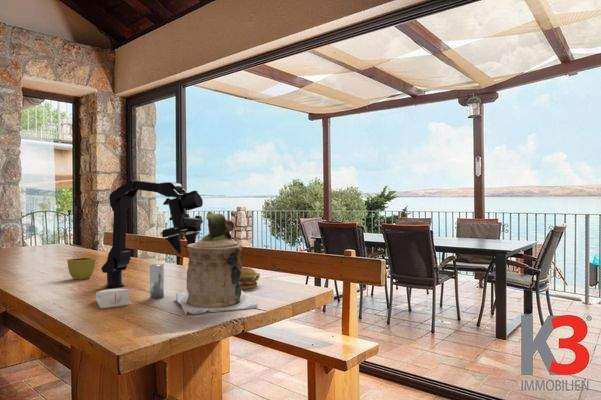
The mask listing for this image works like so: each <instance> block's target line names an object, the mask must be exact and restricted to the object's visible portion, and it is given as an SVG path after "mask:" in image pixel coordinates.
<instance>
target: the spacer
mask: <svg viewBox="0 0 601 400" xmlns="http://www.w3.org/2000/svg"><path fill="white" fill-rule="evenodd" d="M164 265H165V264H163V263H153V264H149V299H151V300H158V299H159V300H160V299H164V297H165V290H164V289H165V279H164V277H165V271H164V270H165V269H164Z"/></svg>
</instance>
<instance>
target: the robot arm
mask: <svg viewBox="0 0 601 400" xmlns="http://www.w3.org/2000/svg"><path fill="white" fill-rule="evenodd" d="M138 191H146V192H152V193H158V194H159V195H161V196H164V197H167V198H165V200H164V202H163V206H166V205H167V206H168V209H169V213H170V217H169V219H168V220H169V221H172V226H173V227H169V228H164V229H163V230H162V231H161V237H162V238H164V240H166V241H167V242H168V243H169V244H170V245H171V246H172V247H173V249H174V250H175V251H176V252H177V254H179V255H181V254H182V244H181V238H182V235H183V234H184V235H183V236H184V238H185V240H186V243H187V245H189V244H192V243H196V242H197V241H196V239H197V236H198V235H199V234H200V231H202V224H203V223H204V220H203V217H202V215H195V217H191V216H190V214H189V213H187V212H186V211H191V210H195V209H199V208H202V207H203V204H204V203H203V202H204V201H203V198H202V196H201V195H200V194H199V192H198V190H191V191H190V192H187V191H186V190H185V189H184V188H183V186H182V184H181V183H180V182H169V181H167V182H166V181H165V182H151V181H143V180H139V179H130V180H127V181H126V182H125V183H123V184H122V185H121V186H118V187H117V188H115V190H113V191H112V192H111V193H110V194H109V206H110V208H111V210H112V212H113V220H112V221H113V223H112V225H113V226H112V246H111V248H110V250H109V251H108V253H107V254H108V255H107V259H106V262H104V264H103V265H102V266H101V272H102V273H103V274H106V283H105V284H104V286H105V287H106V288H108V289H113V288H119V287H121V288H122V287H125V285H124V283H123V271H127V268H128V265H129V264H130V261H131V260H132V259H131V253H132V252H131V250H128V249H127V247H126V242H127V241H126V238H127V237H126V236H127V234H126V233H127V215H128V214H127V213H128V211H129V209H130V207H131V206H132V200H133V199H134V198H135V196H137V193H138Z"/></svg>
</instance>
